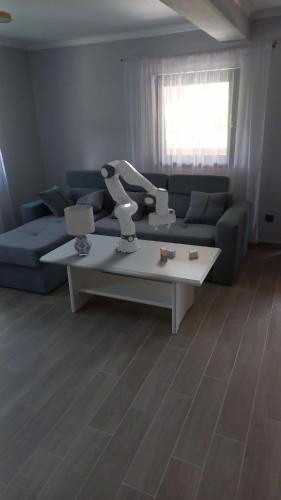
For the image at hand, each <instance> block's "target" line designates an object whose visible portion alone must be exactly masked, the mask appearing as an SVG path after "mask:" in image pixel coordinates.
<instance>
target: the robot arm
mask: <svg viewBox="0 0 281 500" xmlns="http://www.w3.org/2000/svg"><path fill="white" fill-rule="evenodd" d="M100 174H101V176H102V177H103V178H104V182H105V185H106V188H107V190H108V192H109V194H110V196H111V197H112V200H113V201H115V202H116V203H117V204H118V205H117V207H116V208H115V209H114V216H115V218H117V220H118V221H119V224H120V231H121V233H120V238H119V241H118V242H117V245H116V248H117V252H118V251H121V252H120V253H126V252H127V253H134V252H137V251H138V250H140V249H141V246H140V245H139V239H138V238H137V233H136V227H135V222H133V220H132V215H134V214H135V213H136V212H137V211H138V208H139V207H138V203H137V202H136V201H134V200H133V199H131V198H130V196H129V195H128V194H127V192H126V191H125V189H124V186H123V184H122V183H121V181H120V178H119V177H121V178H122V179H123V180H124V182H125V183H127V184H129V185H131V186H132V185H133V186H140V187H142V188H144V190H146V192H147V193H146V194H145V195H144V196H143V202H144V204H145V205H146V206H148V207H155V211H154V212H150V213H149V214H148V225H149V226H150V227H151V226H153V228H154V231H155V232H157V231H158V228H157V226H161V225H167V226H166V230H170V228H171V225H172V224H174V223H176V222H177V221H176V220H177V219H176V216H177V215H176V214H175V213H176V212H175V211H176V210H174V209H172V208H169V204H168V203H169V192H168V190H167V189H166V188H162V187H159V188H157V187H156V186H155V185H154V184H153V183H152V182H151V181H150V180H149V179H147V178H146V177H145V176H143V175H142V174H141V173H140V172H138V170H136V169H135V168H134V166H132V164H130V163H129V162H128V161H127V160H126V159H116V160H112V161H109V162H108V163H105V164H103V165H101V167H100ZM127 253H126V254H127Z"/></svg>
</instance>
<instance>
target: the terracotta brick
mask: <svg viewBox="0 0 281 500" xmlns="http://www.w3.org/2000/svg"><path fill="white" fill-rule="evenodd" d="M167 250H168V249H167V248H166V247H164V246H163V247H159V255H160V254H162V255H163V256H166V255H167Z"/></svg>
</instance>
